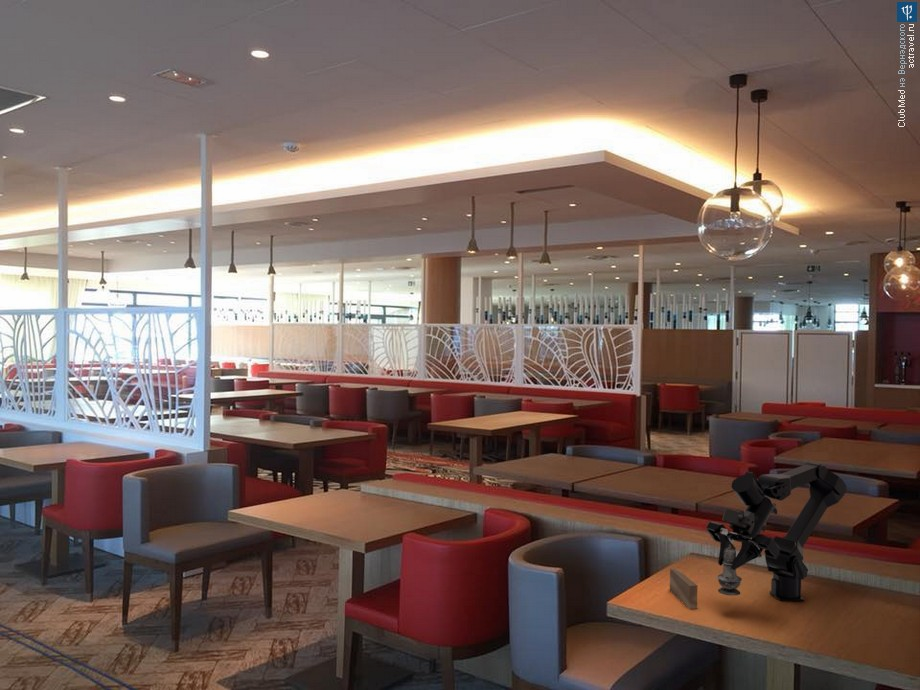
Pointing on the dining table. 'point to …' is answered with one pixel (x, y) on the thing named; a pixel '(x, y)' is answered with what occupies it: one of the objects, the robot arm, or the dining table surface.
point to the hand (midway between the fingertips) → (726, 566)
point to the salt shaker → (729, 574)
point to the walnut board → (683, 588)
